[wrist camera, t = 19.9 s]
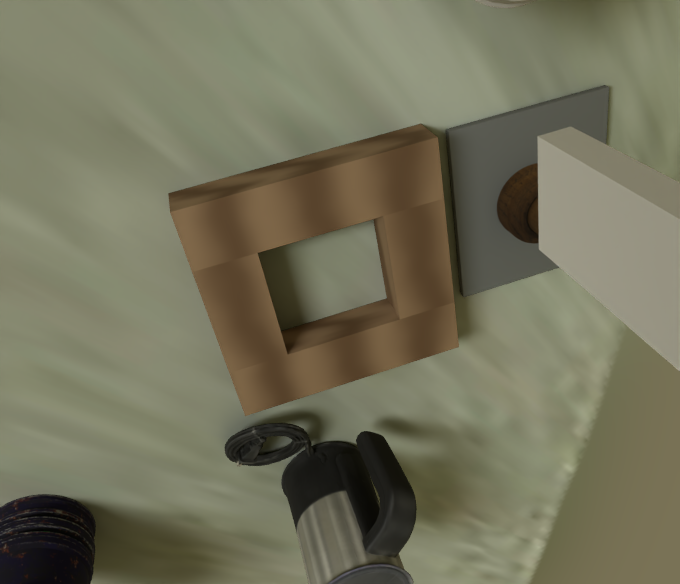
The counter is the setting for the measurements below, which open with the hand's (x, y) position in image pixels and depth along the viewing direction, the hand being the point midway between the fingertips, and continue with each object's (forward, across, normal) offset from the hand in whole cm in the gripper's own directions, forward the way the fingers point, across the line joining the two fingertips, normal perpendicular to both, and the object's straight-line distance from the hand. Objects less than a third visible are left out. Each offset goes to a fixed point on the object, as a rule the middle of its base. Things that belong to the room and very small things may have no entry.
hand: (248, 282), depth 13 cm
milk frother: (+35, -1, -42) cm, 54 cm away
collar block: (+34, +6, -21) cm, 41 cm away
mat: (+34, +25, -20) cm, 47 cm away
